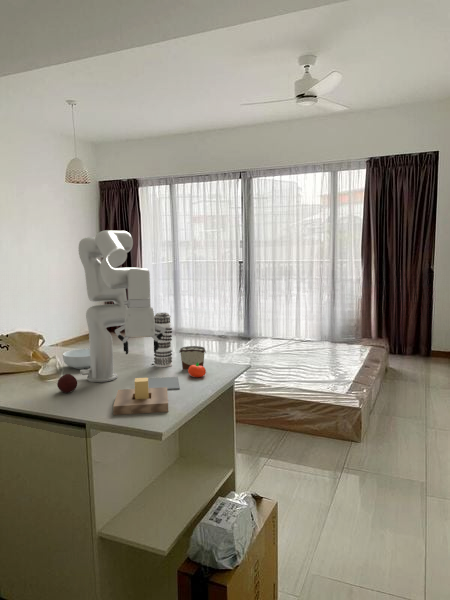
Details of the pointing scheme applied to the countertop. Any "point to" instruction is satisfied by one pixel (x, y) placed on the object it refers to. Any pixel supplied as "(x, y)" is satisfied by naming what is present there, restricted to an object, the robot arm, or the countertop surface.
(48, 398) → the countertop surface
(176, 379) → the grey mat
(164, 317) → the decorative candle
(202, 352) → the food container
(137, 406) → the walnut cradle
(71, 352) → the cereal bowl
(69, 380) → the dark maroon ball
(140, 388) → the ochre block
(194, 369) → the pumpkin
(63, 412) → the countertop surface
